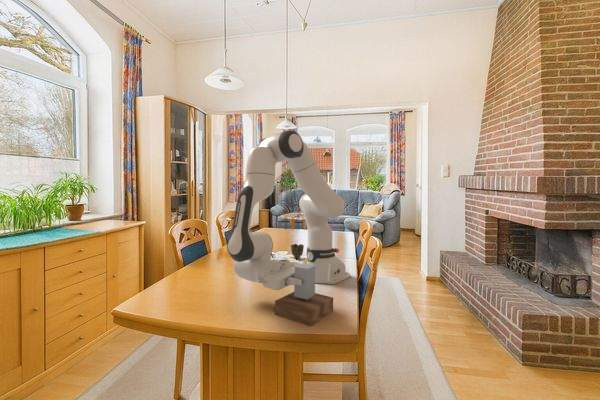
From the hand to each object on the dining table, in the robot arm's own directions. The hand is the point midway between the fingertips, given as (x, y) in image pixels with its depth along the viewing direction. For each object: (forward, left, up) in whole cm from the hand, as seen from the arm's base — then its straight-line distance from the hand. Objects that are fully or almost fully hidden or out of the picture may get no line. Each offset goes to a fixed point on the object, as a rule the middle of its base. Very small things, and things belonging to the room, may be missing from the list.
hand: (307, 279), depth 102 cm
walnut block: (0, -1, -12) cm, 12 cm away
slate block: (0, -1, -5) cm, 6 cm away
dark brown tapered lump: (-44, -60, -11) cm, 75 cm away
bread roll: (-41, -44, -12) cm, 62 cm away
